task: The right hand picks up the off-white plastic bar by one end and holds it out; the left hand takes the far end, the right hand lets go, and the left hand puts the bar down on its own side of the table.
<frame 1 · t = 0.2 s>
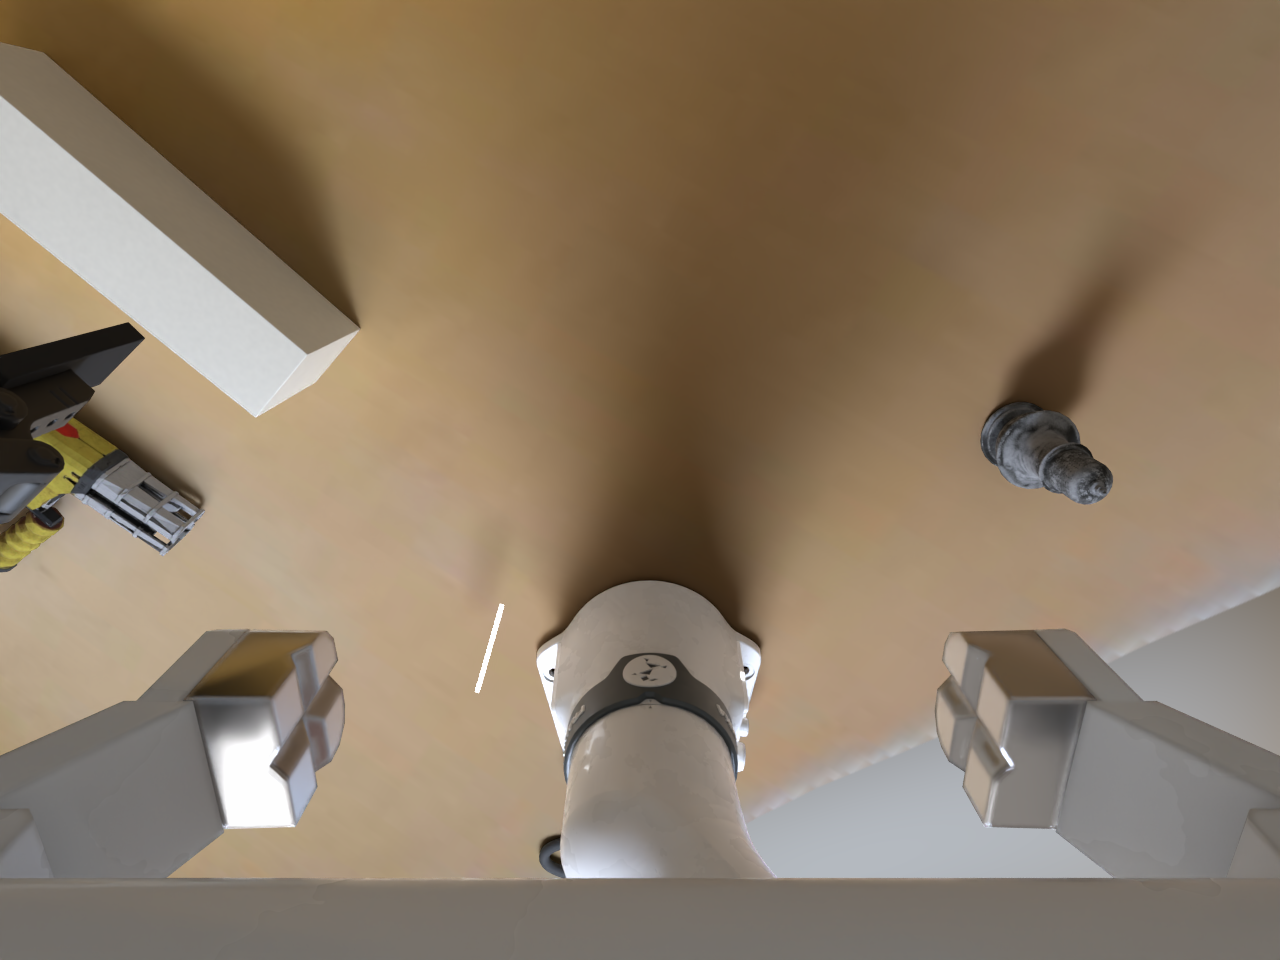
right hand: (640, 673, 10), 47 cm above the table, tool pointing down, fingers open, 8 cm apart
bar: (188, 229, 54), on the table
grey chess piece: (1014, 435, 59), on the table
toy gun: (25, 472, 60), on the table
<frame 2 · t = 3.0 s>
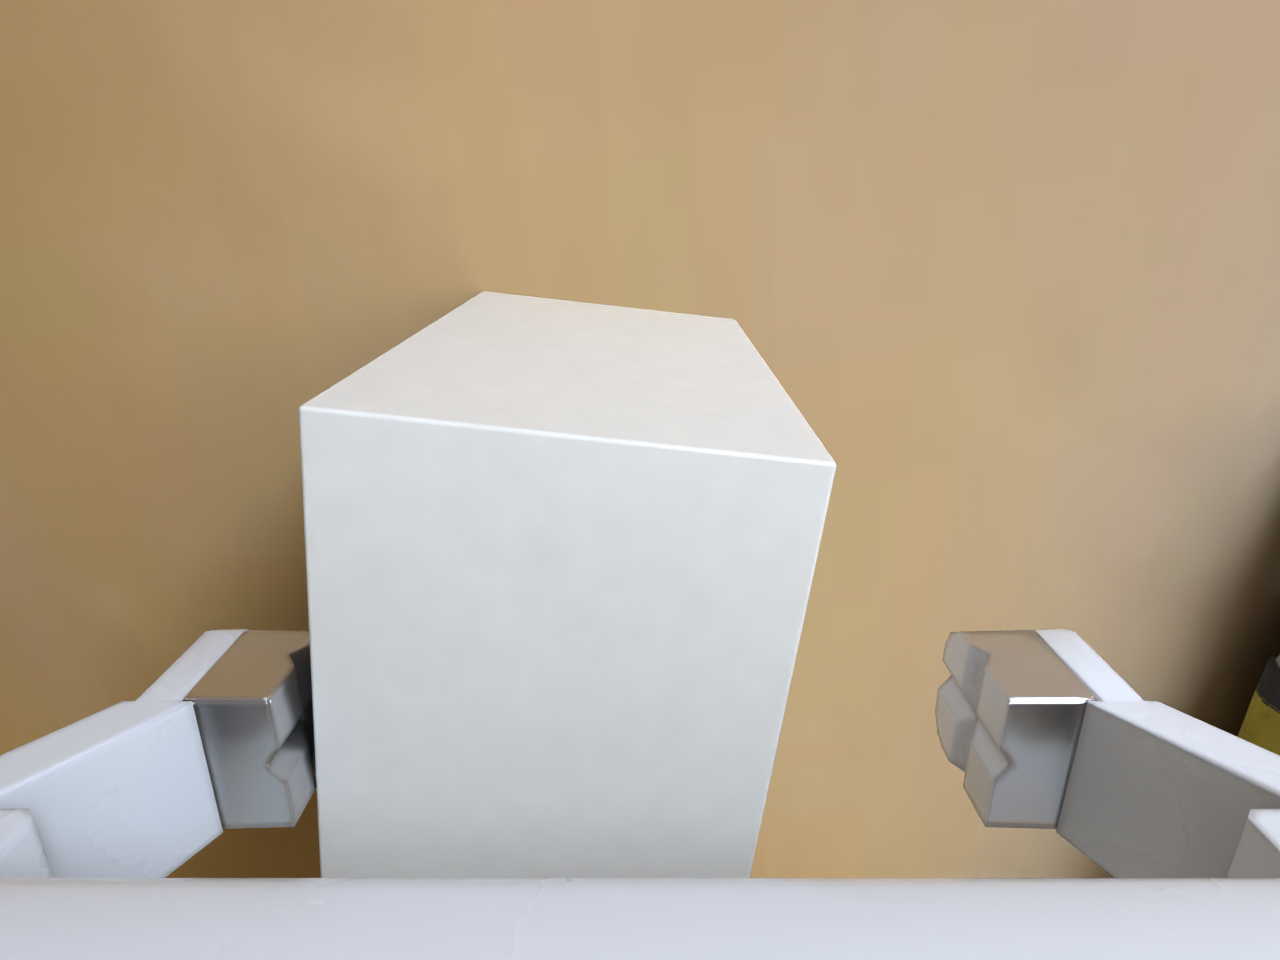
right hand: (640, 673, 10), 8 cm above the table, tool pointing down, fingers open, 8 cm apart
bar: (565, 771, 21), on the table, touching right hand
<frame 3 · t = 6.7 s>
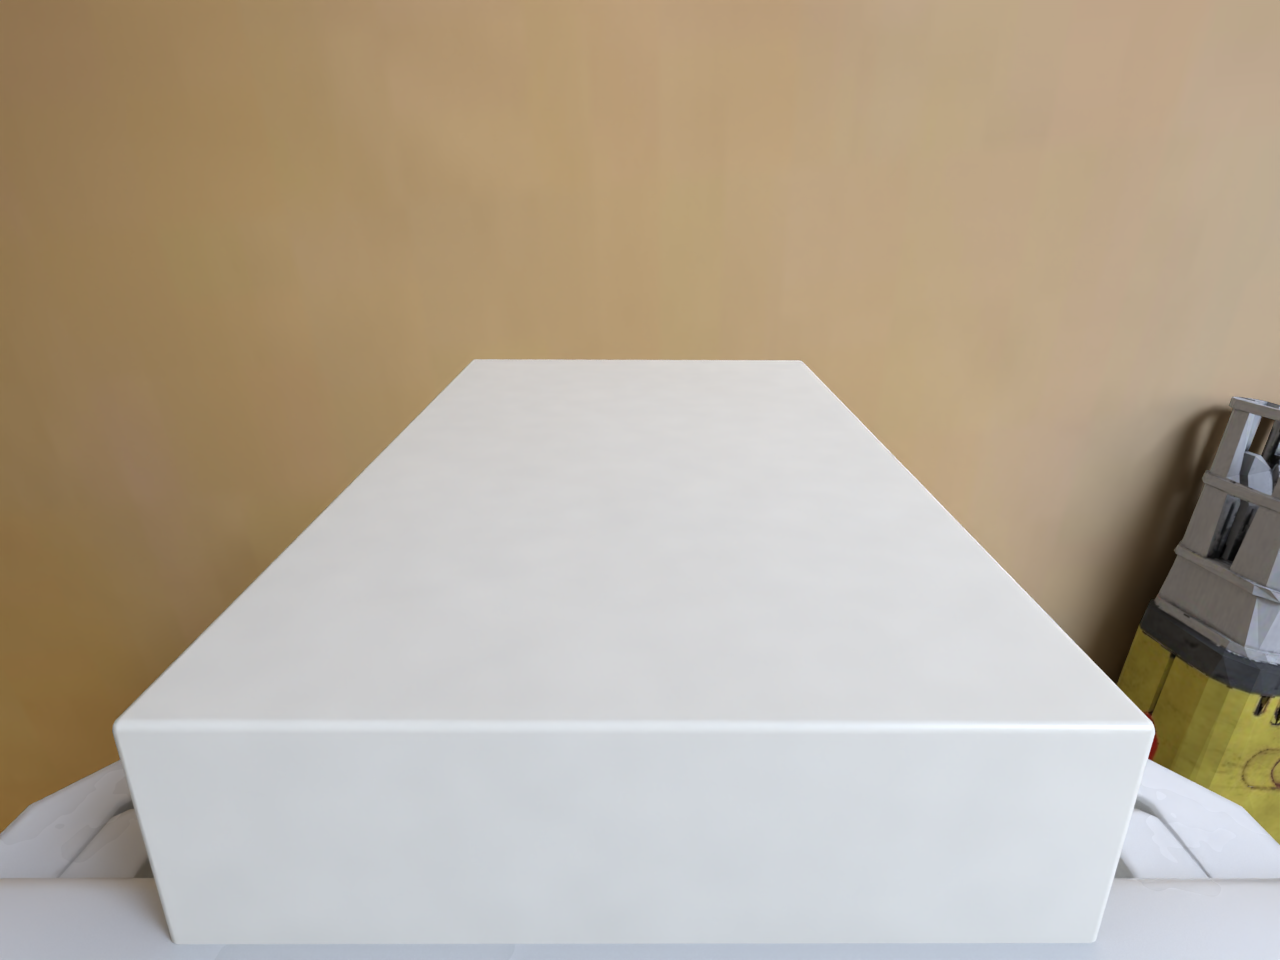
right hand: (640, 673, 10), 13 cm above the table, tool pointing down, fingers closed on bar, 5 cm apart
bar: (636, 918, 17), point 9 cm above the table, touching right hand
toy gun: (1274, 748, 27), on the table
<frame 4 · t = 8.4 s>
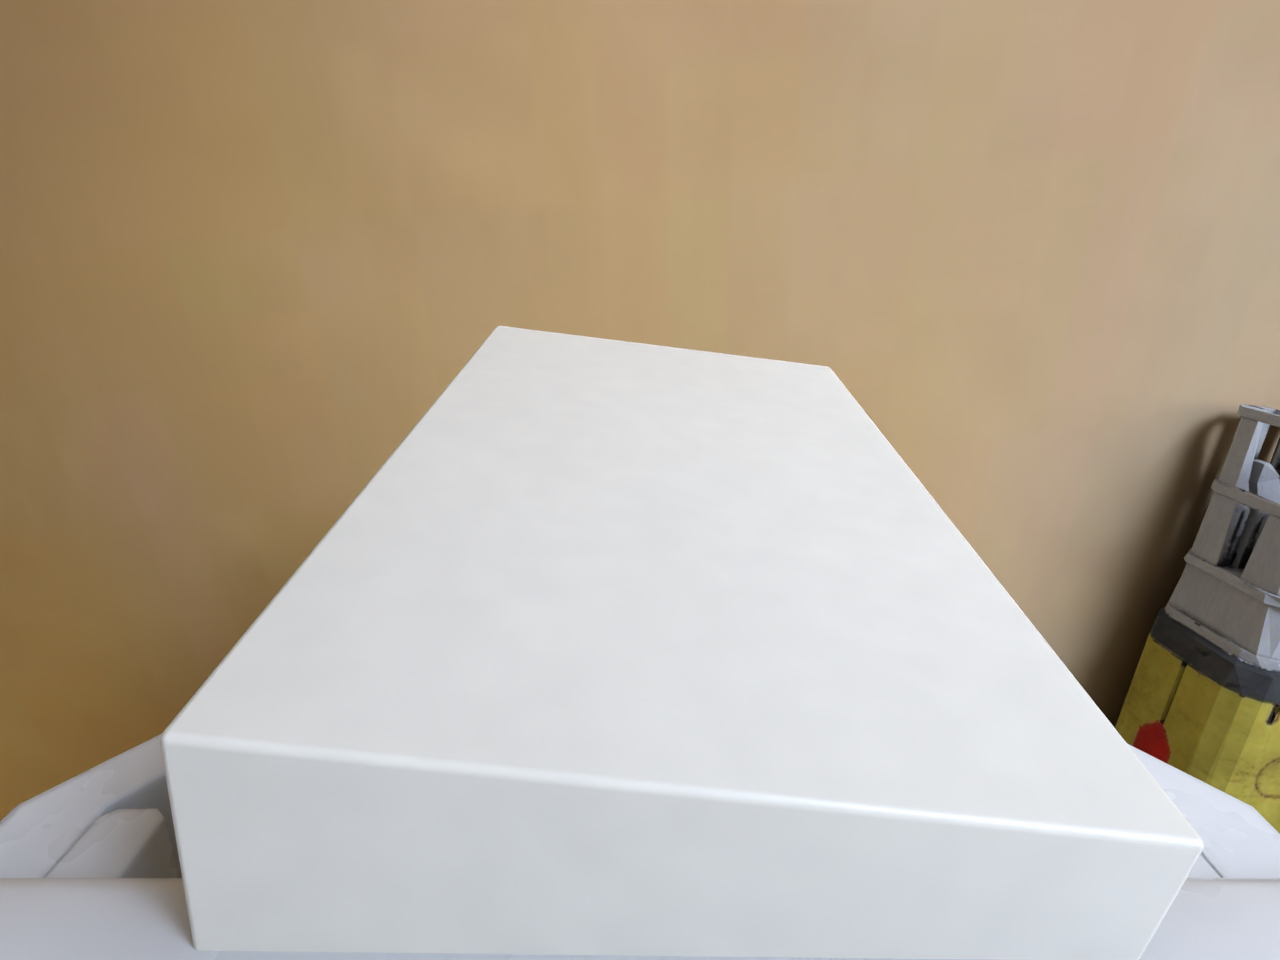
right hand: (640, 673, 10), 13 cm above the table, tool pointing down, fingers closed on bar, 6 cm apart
bar: (590, 883, 18), point 9 cm above the table, touching right hand, left hand
when the right hand's fingers open (13 cm above the table, at t = 9.5 s): bar moves 2 cm, held by the left hand.
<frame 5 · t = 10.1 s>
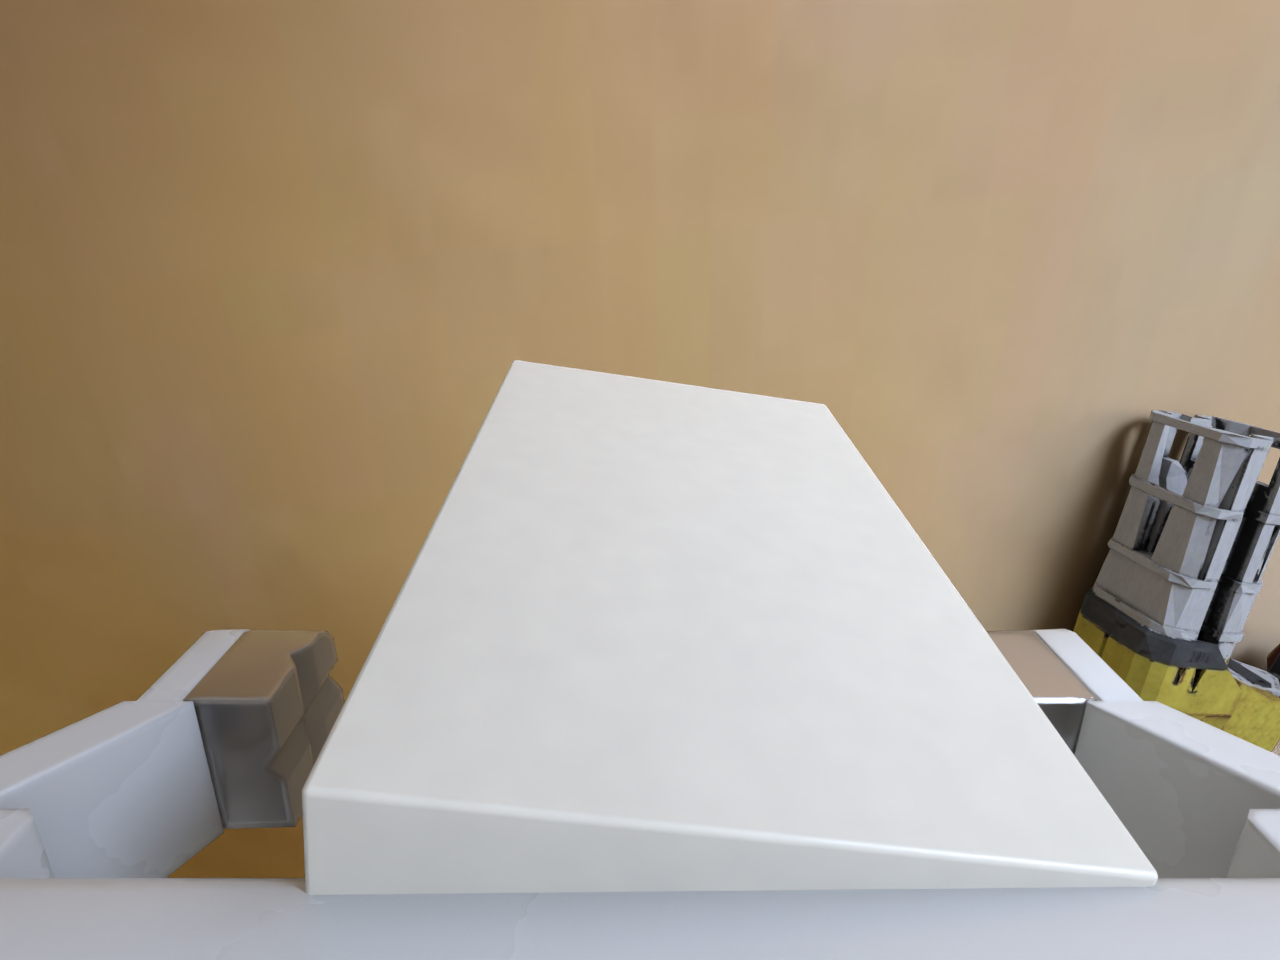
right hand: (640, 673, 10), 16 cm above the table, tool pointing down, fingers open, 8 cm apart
bar: (583, 881, 19), point 11 cm above the table, touching left hand
toy gun: (1205, 718, 31), on the table
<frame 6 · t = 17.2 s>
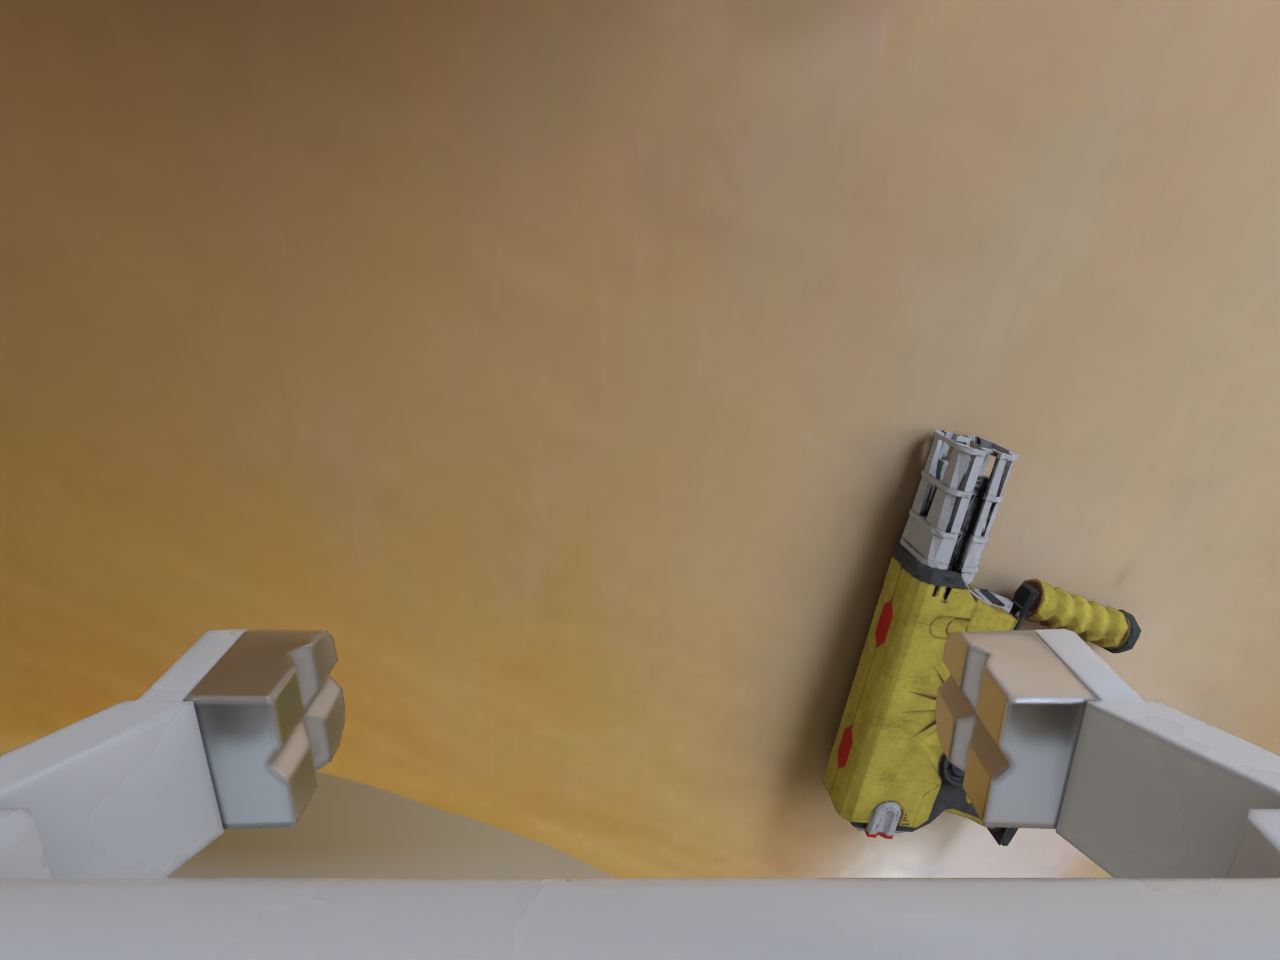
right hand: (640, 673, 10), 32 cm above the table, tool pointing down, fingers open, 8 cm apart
toy gun: (982, 634, 47), on the table
when the left hand's fingers open (2 cm above the table, at t = 17.5 s): bar stays where it is, on the table.
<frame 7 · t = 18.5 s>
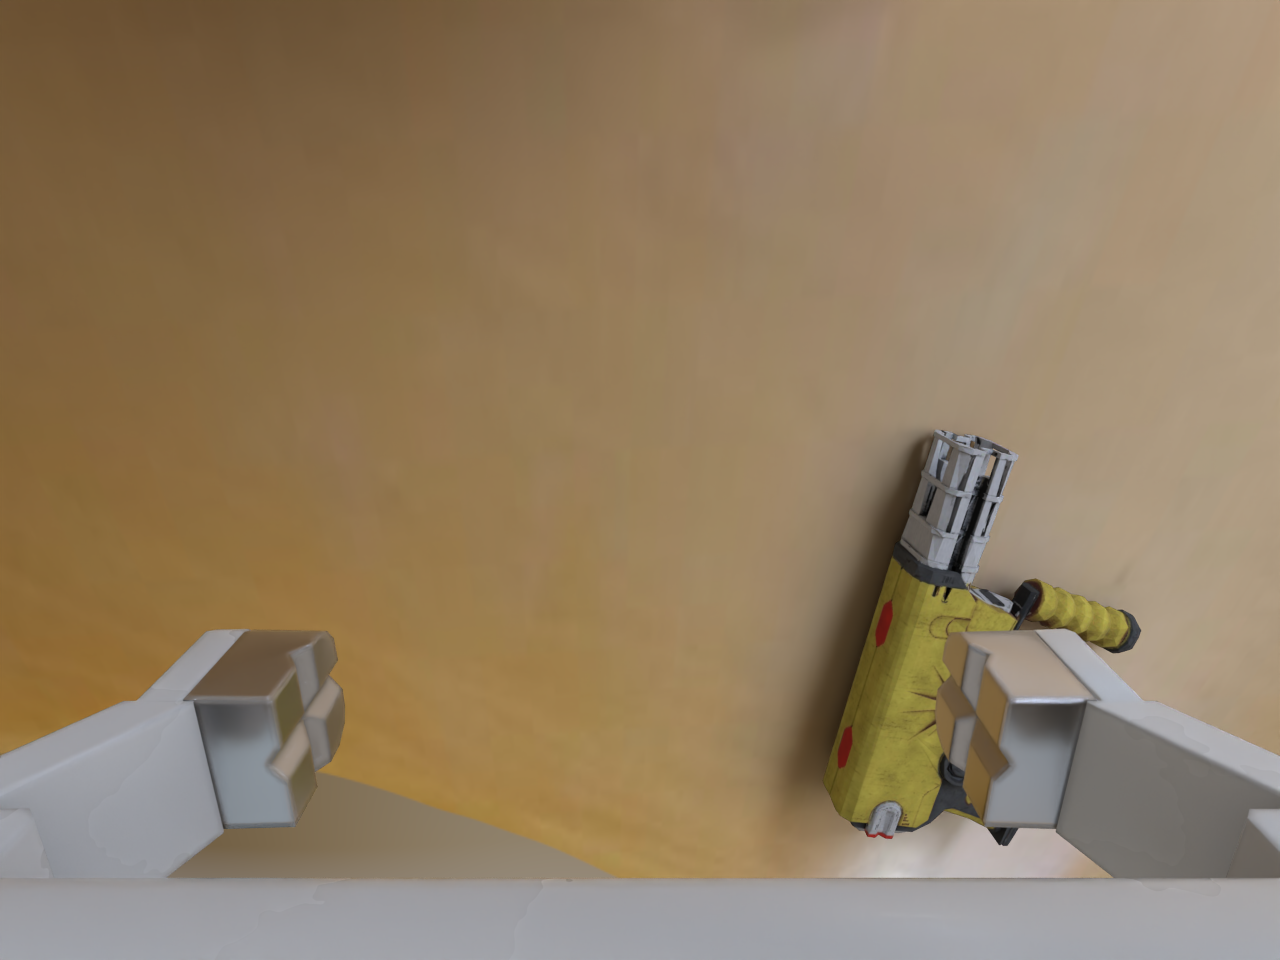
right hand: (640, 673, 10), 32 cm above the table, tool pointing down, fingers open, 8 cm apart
toy gun: (982, 634, 47), on the table
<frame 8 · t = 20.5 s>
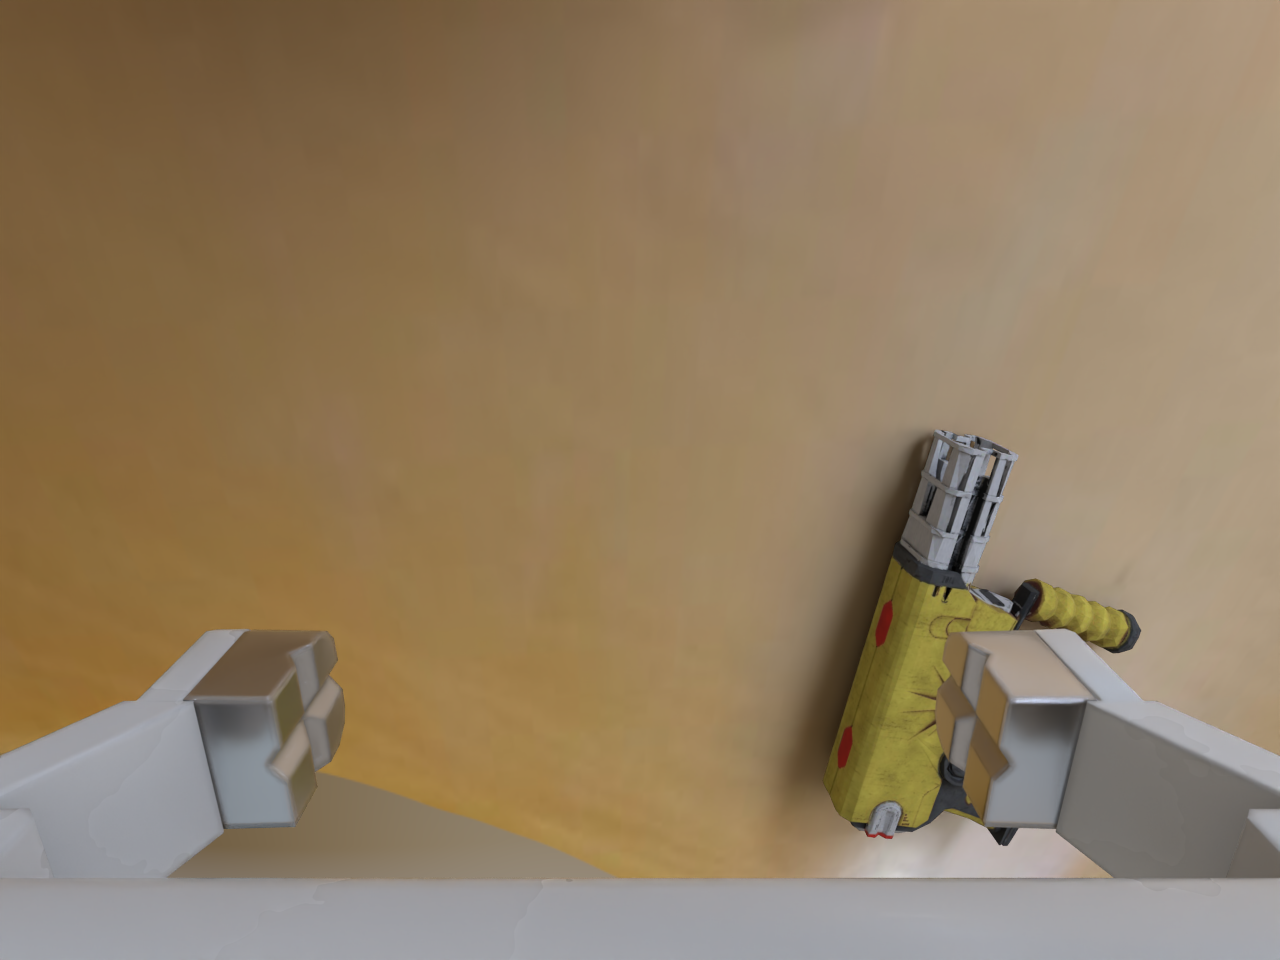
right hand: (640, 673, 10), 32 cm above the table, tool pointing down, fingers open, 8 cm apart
toy gun: (982, 634, 47), on the table
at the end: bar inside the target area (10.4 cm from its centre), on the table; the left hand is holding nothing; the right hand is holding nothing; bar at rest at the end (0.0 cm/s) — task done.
